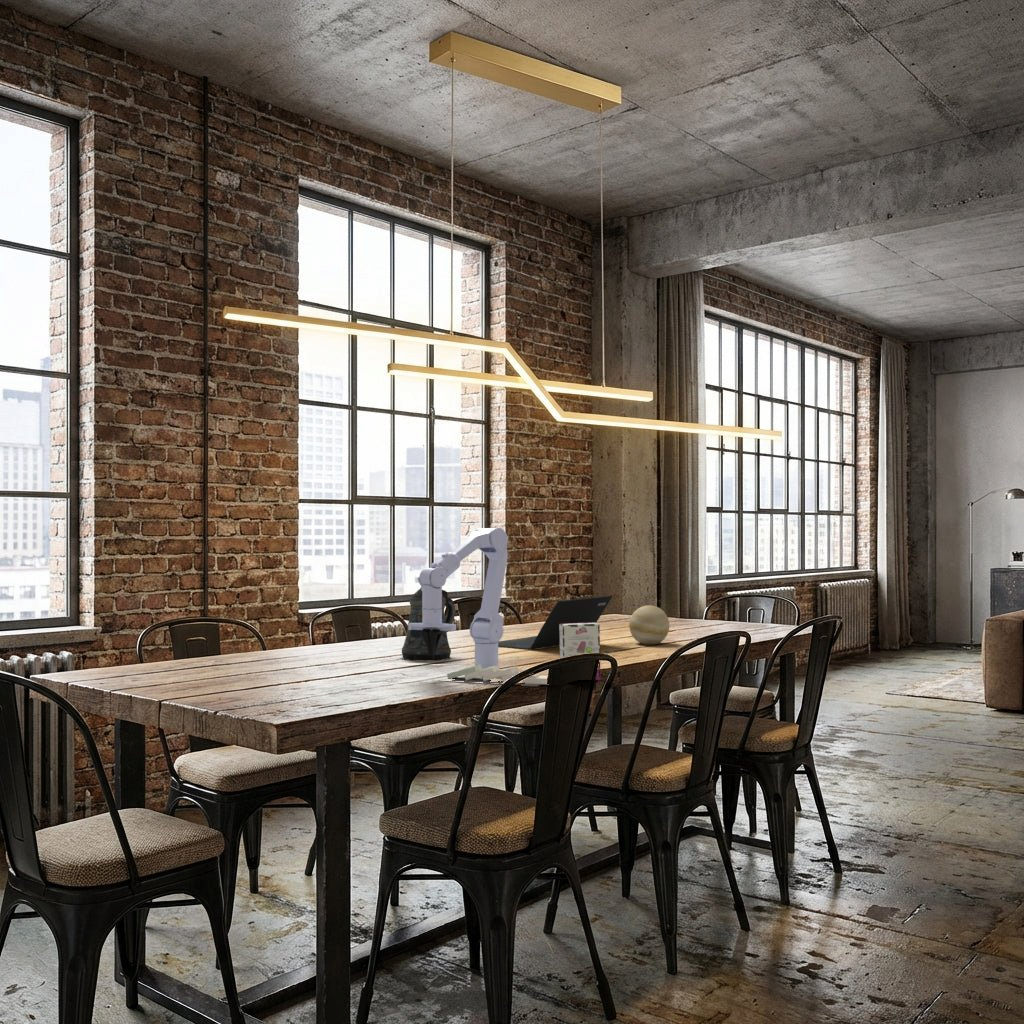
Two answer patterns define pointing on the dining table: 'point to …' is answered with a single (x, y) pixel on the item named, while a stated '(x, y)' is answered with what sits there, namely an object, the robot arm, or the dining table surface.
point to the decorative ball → (649, 625)
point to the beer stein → (414, 640)
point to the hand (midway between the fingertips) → (432, 655)
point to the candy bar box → (580, 640)
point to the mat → (488, 681)
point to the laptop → (561, 622)
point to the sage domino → (464, 671)
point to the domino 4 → (536, 680)
